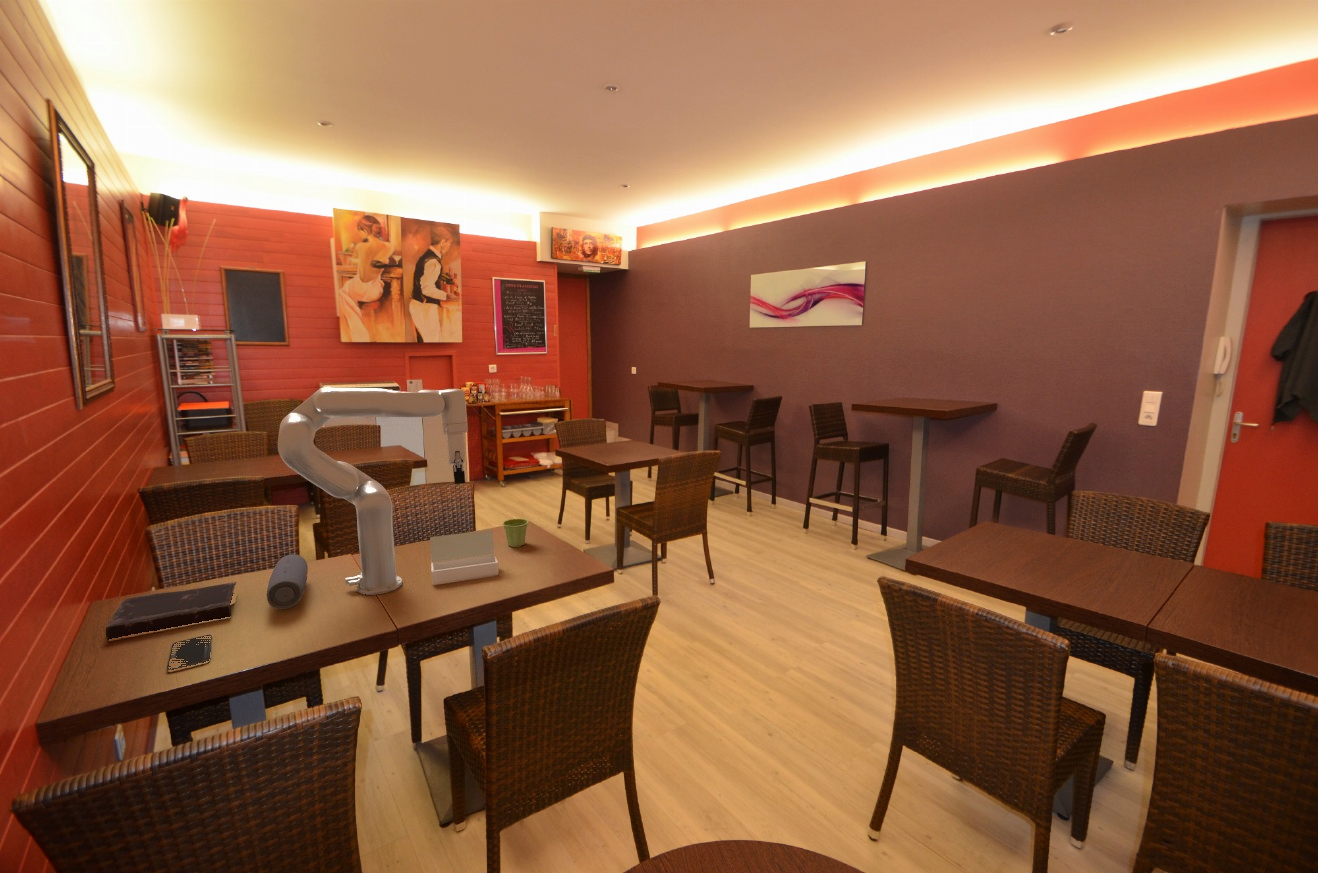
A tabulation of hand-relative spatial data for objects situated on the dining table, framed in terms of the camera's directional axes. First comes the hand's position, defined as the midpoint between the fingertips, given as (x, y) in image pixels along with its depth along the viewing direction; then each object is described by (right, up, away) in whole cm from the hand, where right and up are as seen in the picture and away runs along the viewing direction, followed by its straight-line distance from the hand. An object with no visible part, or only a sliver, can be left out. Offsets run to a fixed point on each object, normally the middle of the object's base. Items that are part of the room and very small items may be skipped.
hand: (459, 479), depth 185 cm
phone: (-49, -39, -47) cm, 78 cm away
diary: (-68, -36, -28) cm, 81 cm away
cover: (0, -22, +4) cm, 22 cm away
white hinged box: (+2, -31, 0) cm, 31 cm away
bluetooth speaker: (-44, -34, -16) cm, 58 cm away
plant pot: (+11, -27, +29) cm, 41 cm away
